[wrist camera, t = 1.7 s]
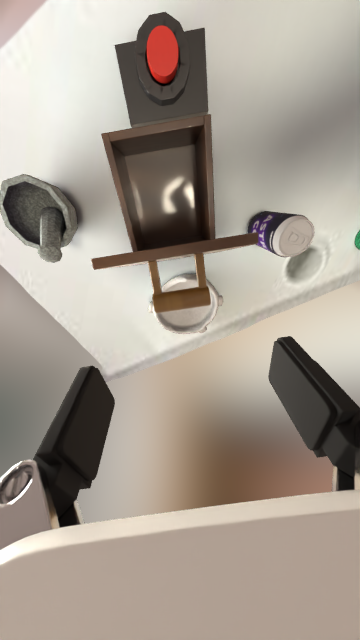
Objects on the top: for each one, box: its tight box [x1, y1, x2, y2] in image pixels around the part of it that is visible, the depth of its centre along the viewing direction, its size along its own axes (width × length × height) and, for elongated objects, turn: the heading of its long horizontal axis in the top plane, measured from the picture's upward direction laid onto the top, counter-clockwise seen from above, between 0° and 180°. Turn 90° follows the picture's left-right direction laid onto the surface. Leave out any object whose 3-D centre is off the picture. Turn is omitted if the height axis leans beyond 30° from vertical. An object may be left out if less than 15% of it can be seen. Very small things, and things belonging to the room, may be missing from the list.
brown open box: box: [101, 114, 215, 252], centre depth 29 cm, size 15×13×9 cm
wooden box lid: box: [91, 232, 258, 313], centre depth 22 cm, size 15×13×5 cm
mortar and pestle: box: [0, 174, 78, 263], centre depth 28 cm, size 11×9×12 cm
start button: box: [147, 25, 178, 84], centre depth 22 cm, size 4×4×2 cm
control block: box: [115, 12, 208, 128], centre depth 24 cm, size 11×8×4 cm
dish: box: [148, 274, 223, 334], centre depth 42 cm, size 14×14×5 cm
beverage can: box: [248, 211, 314, 257], centre depth 31 cm, size 6×6×12 cm
